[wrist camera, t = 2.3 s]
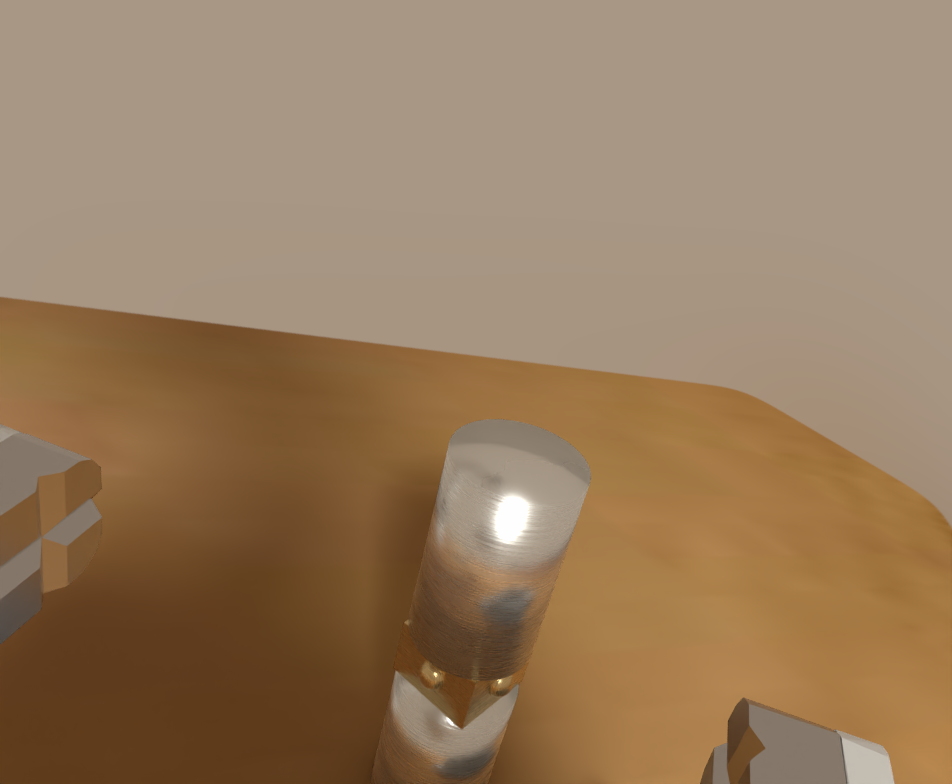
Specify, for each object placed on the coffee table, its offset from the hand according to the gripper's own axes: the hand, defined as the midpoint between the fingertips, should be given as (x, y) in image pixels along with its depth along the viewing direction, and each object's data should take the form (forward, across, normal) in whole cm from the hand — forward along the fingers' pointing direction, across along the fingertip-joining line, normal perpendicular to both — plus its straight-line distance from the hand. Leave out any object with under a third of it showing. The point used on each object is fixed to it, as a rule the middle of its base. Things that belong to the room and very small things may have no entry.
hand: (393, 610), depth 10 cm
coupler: (+12, 0, +19) cm, 23 cm away
